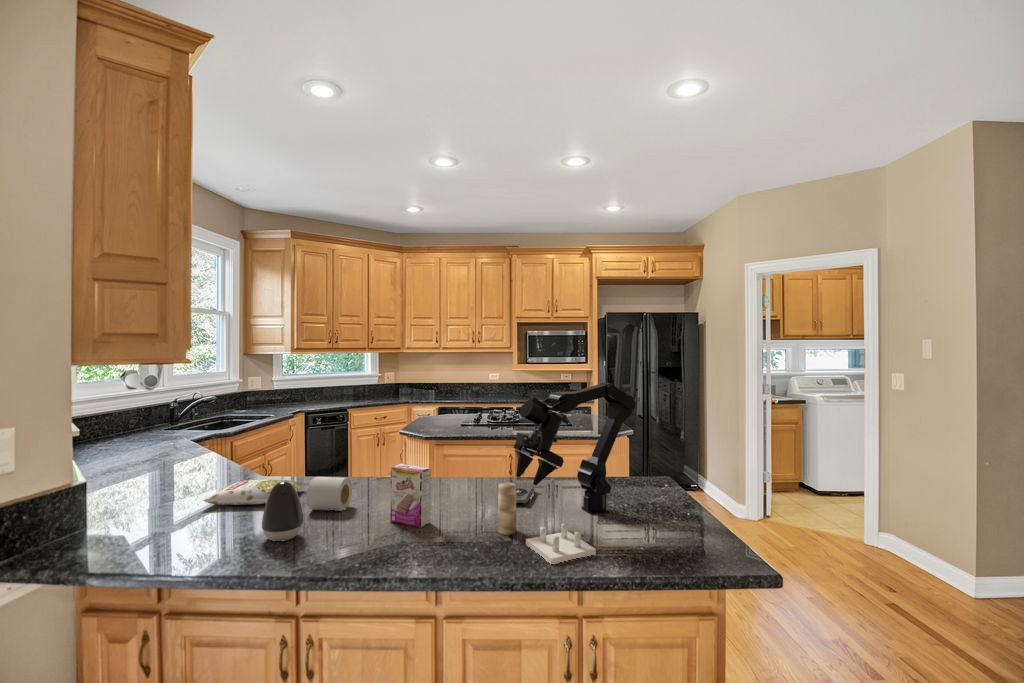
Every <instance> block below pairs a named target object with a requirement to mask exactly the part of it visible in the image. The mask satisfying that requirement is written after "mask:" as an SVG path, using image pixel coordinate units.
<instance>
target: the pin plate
mask: <svg viewBox="0 0 1024 683" xmlns="http://www.w3.org/2000/svg"><path fill="white" fill-rule="evenodd" d="M581 537H582V533H581V531H574V534H573V533H571V532H570V531H568V523H566V522H563V523H560V532H557V533H552V534H547V527H545V526H540V527H539V536H536V537H535V536H534V537H529V538H525V545H526V546H527V547H528V548H529V547H530V548H529V549H530V550H532V551H533V550H534V551H535V552H534V551H533V552H534V553H535V554H537V553H538V554H539V555H540V556H539V555H538V554H537V555H538V556H539V557H541V556H542V557H543V558H544V559H545V562H547V563H548V562H549V563H550V565H551V564H553V565H556V564H560V562H562V563H565V562H564V561H566V562H569V561H568V560H571V559H576V558H580V557H585V556H586V557H585V558H588V557H587V556H589V557H592V556H591V555H594V556H596V555H597V552H596V550H597V549H596V548H595V547H593V546H592V545H590V544H588V543H587V542H586V541H584V540H582V539H581ZM542 557H541V558H542ZM543 558H542V559H543ZM544 559H543V560H544ZM580 559H581V558H580ZM576 560H577V559H576ZM571 561H572V560H571ZM549 563H548V564H549Z"/></svg>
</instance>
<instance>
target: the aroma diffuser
mask: <svg viewBox="0 0 1024 683" xmlns="http://www.w3.org/2000/svg"><path fill="white" fill-rule="evenodd" d="M303 524H304V514H303V509H302V503H301V501H300V496H299V494H298V492H297V490H295V488H294V486H293V485H292V484H291V483H289V482H285V481H283V482H279V483H277V484H276V485H275V486H274V487H273V488H272V490H271V492H270V494H269V496H268V499H267V502H266V504H264V509H263V514H262V519H261V529H262V531H263V534H264V536H265V538H266V539H268V540H269V541H271V540H272V542H275V541H282V540H287V541H289V540H288V539H290V540H292V539H293V538H295V537H296V536H297V535H298V534H299V533H300V531H301V529H302V526H303ZM291 538H292V539H291ZM282 542H283V541H282Z"/></svg>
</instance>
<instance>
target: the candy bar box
mask: <svg viewBox="0 0 1024 683" xmlns="http://www.w3.org/2000/svg"><path fill="white" fill-rule="evenodd" d="M389 518H390V520H389V521H390V522H392V523H395V524H396V523H397V524H400V525H404V526H405V525H407V526H411V527H414V528H416V527H417V528H423V527H425V526H426V524H427V525H428V524H430V523H431V467H426V466H421V465H419V466H418V465H413V464H406V463H398V464H396V465H392V466H391V467H390V516H389ZM424 525H425V526H424Z"/></svg>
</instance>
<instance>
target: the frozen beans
mask: <svg viewBox="0 0 1024 683" xmlns="http://www.w3.org/2000/svg"><path fill="white" fill-rule="evenodd" d="M283 481H285V482H289V483H291V484H292V485H293V486H294V488H295V490H296V491H297V490H299V489H300V488H301V487H302V486H304V485H305V483H302V482H298V481H295V480H290V479H251V480H250V479H247V480H241V481H237V482H235V483H233V484H230V485H229V486H227V487H225V488H223V489H221V490H220V491H218V492H216V493H214V494H212V495H210V496H208V497H206V498H205V499H202V500H201V501H204V502H205V503H208V504H211V505H222V506H225V505H226V506H227V505H231V506H232V505H233V506H234V505H235V506H236V505H237V506H239V505H240V506H241V505H245V506H246V505H250V506H251V505H266V502H267V499H268V496H269V494H270V492H271V490H272V488H273V487H274V486H275V485H276V484H277V483H279V482H283Z"/></svg>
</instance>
